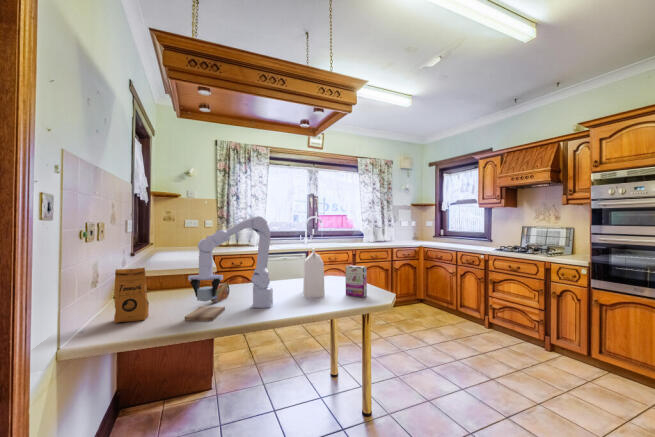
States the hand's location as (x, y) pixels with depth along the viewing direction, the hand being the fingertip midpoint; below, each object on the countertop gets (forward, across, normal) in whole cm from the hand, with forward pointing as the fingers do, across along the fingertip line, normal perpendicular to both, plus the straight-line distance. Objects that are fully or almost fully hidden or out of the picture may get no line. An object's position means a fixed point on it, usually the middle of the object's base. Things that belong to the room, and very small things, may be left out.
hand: (205, 296), depth 128 cm
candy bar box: (+9, -72, -28) cm, 78 cm away
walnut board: (+8, 0, 0) cm, 8 cm away
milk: (+9, -48, -33) cm, 59 cm away
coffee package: (+9, +29, +4) cm, 31 cm away
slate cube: (+1, 0, 0) cm, 1 cm away
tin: (+9, +1, -24) cm, 26 cm away
